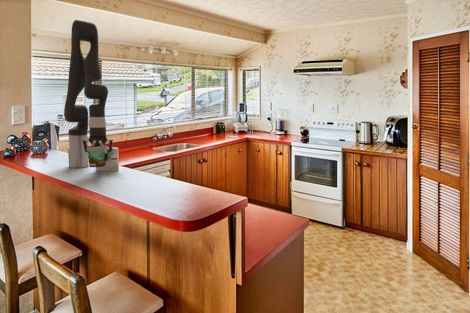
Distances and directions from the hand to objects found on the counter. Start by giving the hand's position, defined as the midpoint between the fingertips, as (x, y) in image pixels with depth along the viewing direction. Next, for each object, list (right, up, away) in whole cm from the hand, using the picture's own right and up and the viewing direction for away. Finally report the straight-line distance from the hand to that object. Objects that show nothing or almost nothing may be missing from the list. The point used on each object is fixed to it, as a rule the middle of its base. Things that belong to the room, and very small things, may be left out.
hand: (98, 160), depth 175 cm
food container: (+1, -3, 0) cm, 3 cm away
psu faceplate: (+1, -5, +10) cm, 12 cm away
